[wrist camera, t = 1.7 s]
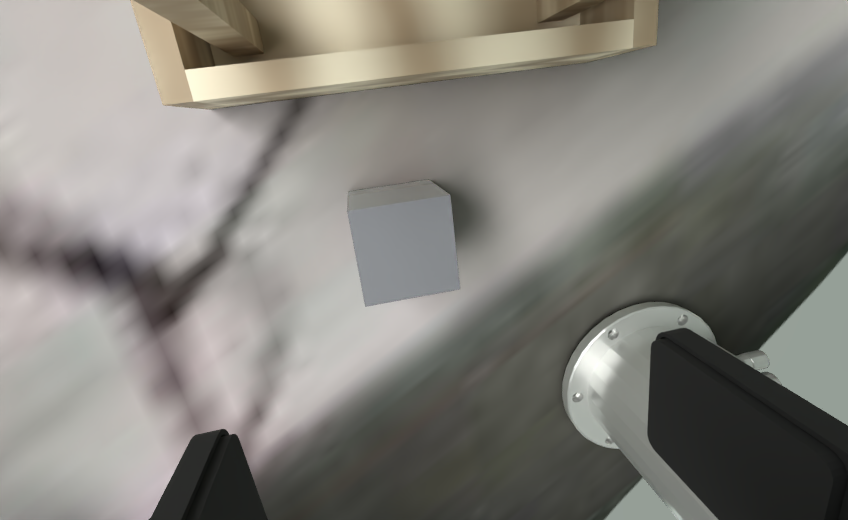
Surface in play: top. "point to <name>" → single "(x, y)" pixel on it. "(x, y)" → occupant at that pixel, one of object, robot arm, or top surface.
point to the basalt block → (403, 241)
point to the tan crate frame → (370, 43)
